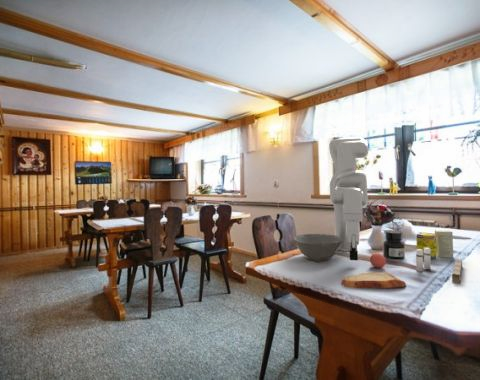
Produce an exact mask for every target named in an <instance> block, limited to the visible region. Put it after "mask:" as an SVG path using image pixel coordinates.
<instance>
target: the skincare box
mask: <svg viewBox="0 0 480 380" xmlns="http://www.w3.org/2000/svg"><path fill="white" fill-rule="evenodd" d="M434 235H436V258H449V259H450V258H451V259H452V258H453V259H454V241H453V236H454V235H453V231H451V230H445V229H444V230H443V229H442V230H439V229H436V230H434Z"/></svg>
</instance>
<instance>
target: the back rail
mask: <svg viewBox="0 0 480 380" xmlns="http://www.w3.org/2000/svg"><path fill="white" fill-rule="evenodd" d="M453 265H454V266H453V269H452V274H451V278H452V281H451V282H452V283H453V284H454V283H456V284H461V283H460V282H461V277H462V270H463V269H462V268H463V259H460V258H455V260H454V264H453Z"/></svg>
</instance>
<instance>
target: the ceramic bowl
mask: <svg viewBox="0 0 480 380" xmlns="http://www.w3.org/2000/svg"><path fill="white" fill-rule="evenodd" d="M293 239H294V242H295V244H296V245H297V248H298V250H299V251H300V253H301V254H302V255H303V256H305V257H306V258H307V259H309V260H310V261H313V262H322V261H326V260H330V259H332V258H333V257H334V256H335V255H336V253H337V251H338V250H337V249H338V247H339V246H340V244H341V243H342V241H343V238H340V237H338V236H335V234H327V233H322V234H320V233H307V234H305V233H304V234H298V235H295V236H294V237H293Z"/></svg>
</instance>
